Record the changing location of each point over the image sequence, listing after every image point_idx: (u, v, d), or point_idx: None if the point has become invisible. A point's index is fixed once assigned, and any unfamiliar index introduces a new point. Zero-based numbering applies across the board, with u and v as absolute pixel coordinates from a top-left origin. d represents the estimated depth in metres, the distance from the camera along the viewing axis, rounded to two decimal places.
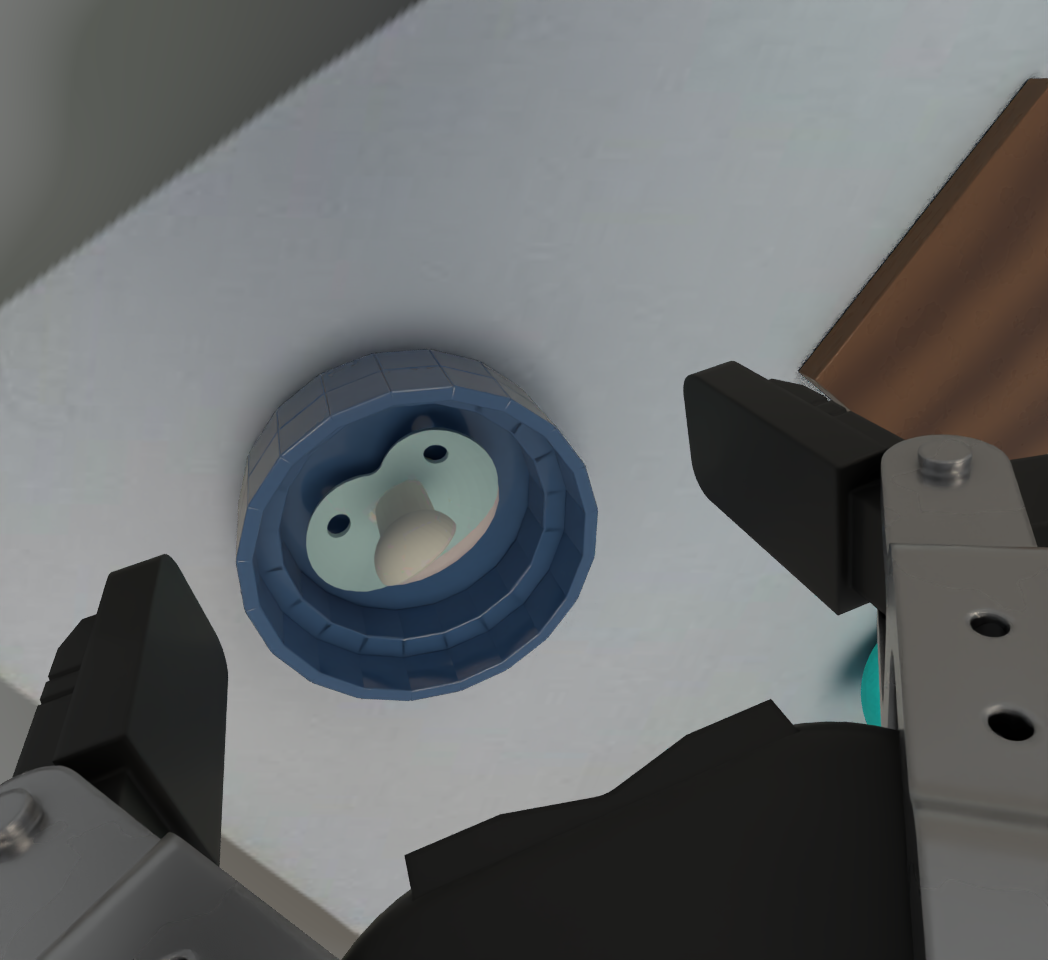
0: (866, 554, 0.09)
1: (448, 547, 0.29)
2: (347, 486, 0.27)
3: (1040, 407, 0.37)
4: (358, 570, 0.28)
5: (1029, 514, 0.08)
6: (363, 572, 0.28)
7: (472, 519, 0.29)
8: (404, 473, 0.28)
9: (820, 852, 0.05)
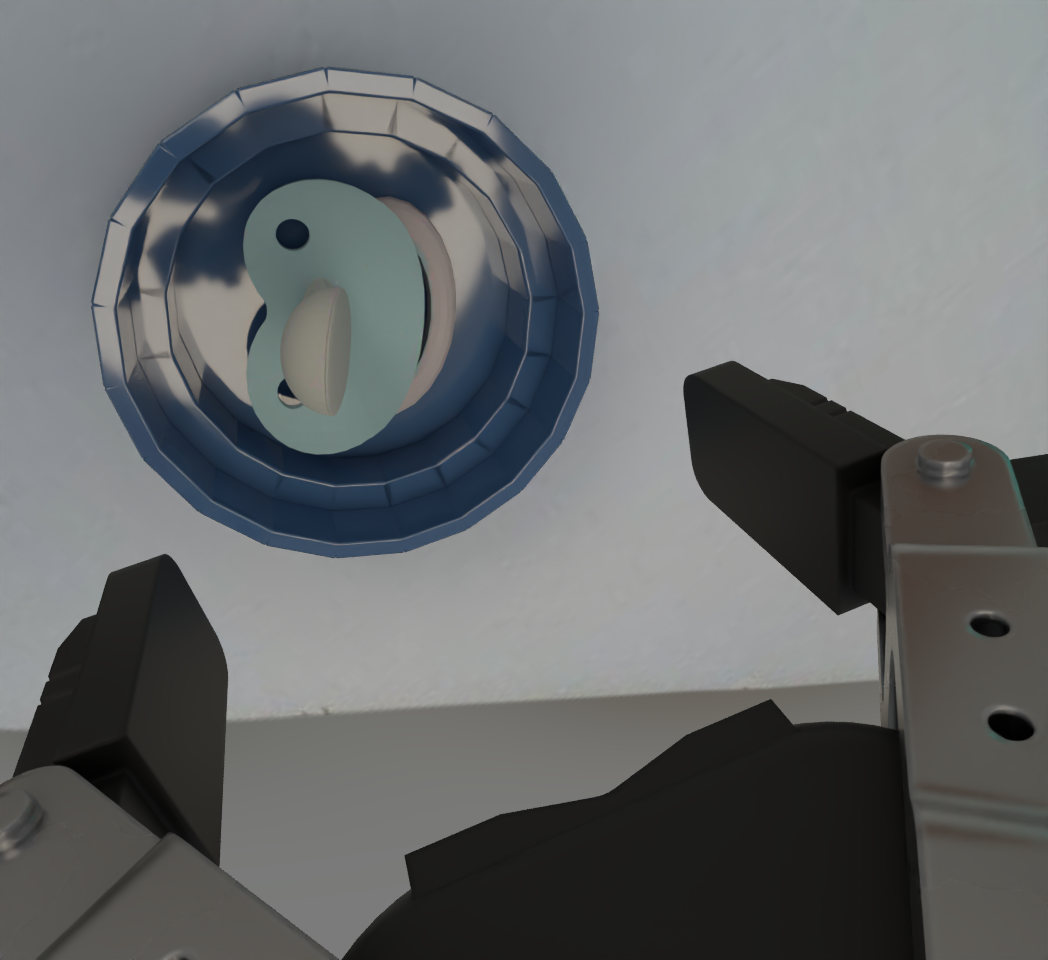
0: (866, 554, 0.09)
1: (420, 314, 0.22)
2: (257, 349, 0.21)
3: None
4: (357, 415, 0.22)
5: (1029, 514, 0.08)
6: (364, 413, 0.22)
7: (408, 263, 0.21)
8: (295, 284, 0.21)
9: (820, 852, 0.05)
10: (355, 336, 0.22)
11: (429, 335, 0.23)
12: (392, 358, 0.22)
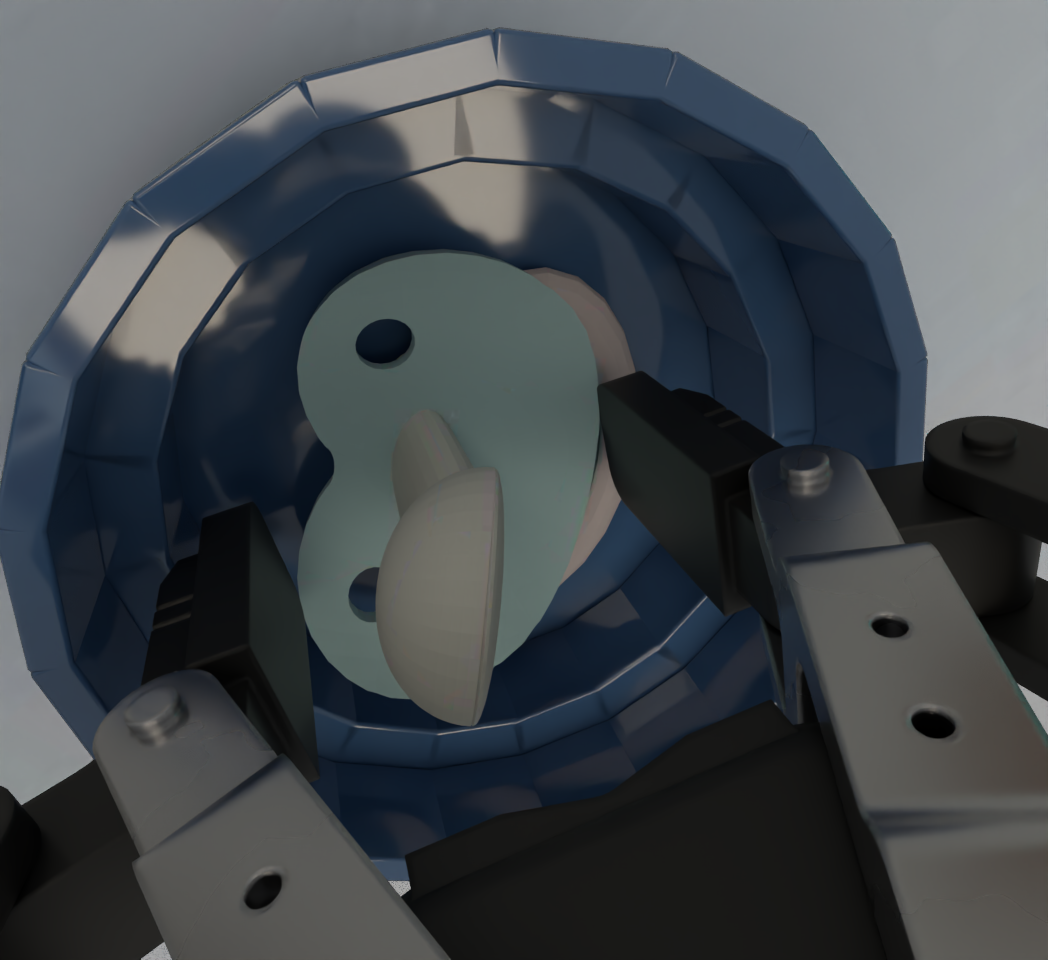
0: (743, 558, 0.09)
1: (588, 462, 0.13)
2: (317, 530, 0.12)
3: None
4: None
5: None
6: None
7: (579, 384, 0.12)
8: (384, 422, 0.12)
9: (820, 852, 0.05)
10: None
11: (592, 486, 0.14)
12: (536, 530, 0.13)
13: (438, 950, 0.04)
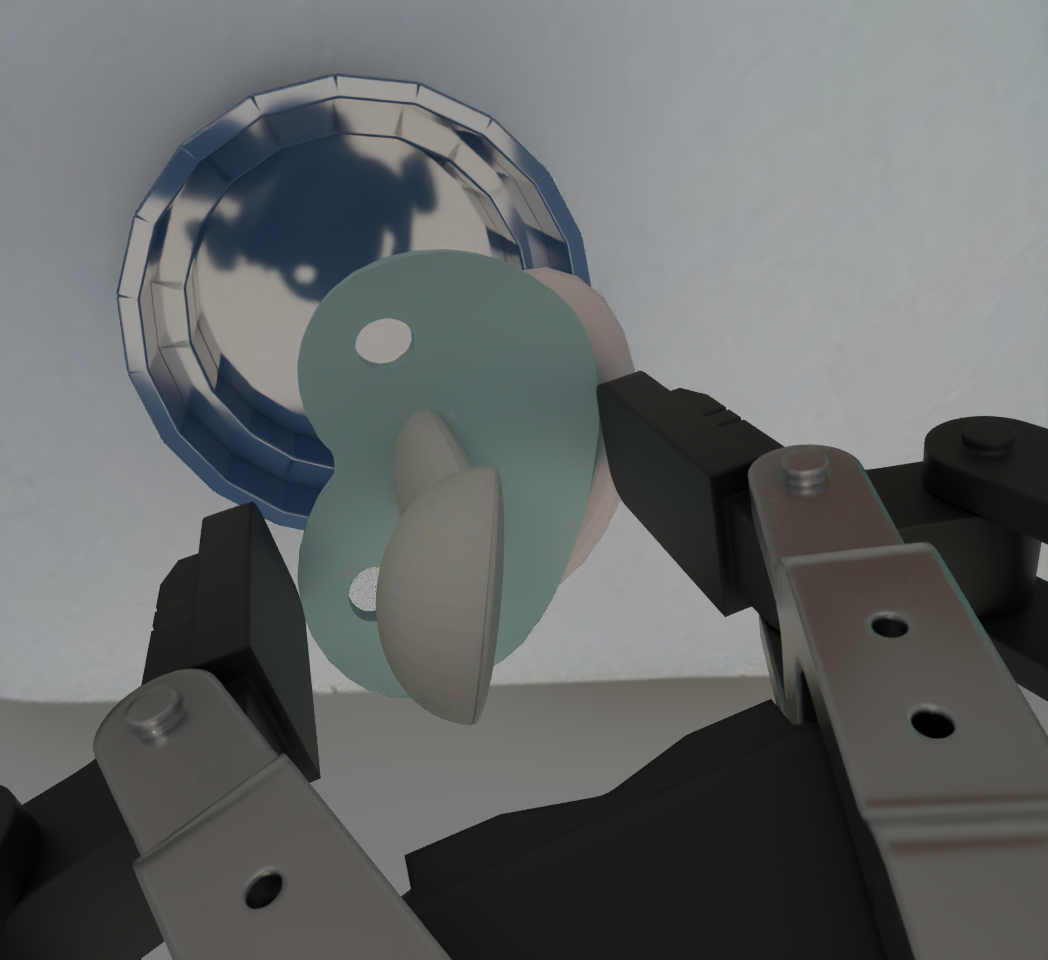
0: (743, 558, 0.09)
1: (588, 461, 0.13)
2: (316, 531, 0.12)
3: None
4: None
5: None
6: None
7: (578, 383, 0.12)
8: (384, 422, 0.12)
9: (820, 852, 0.05)
10: None
11: (592, 485, 0.14)
12: (536, 530, 0.13)
13: (439, 950, 0.04)
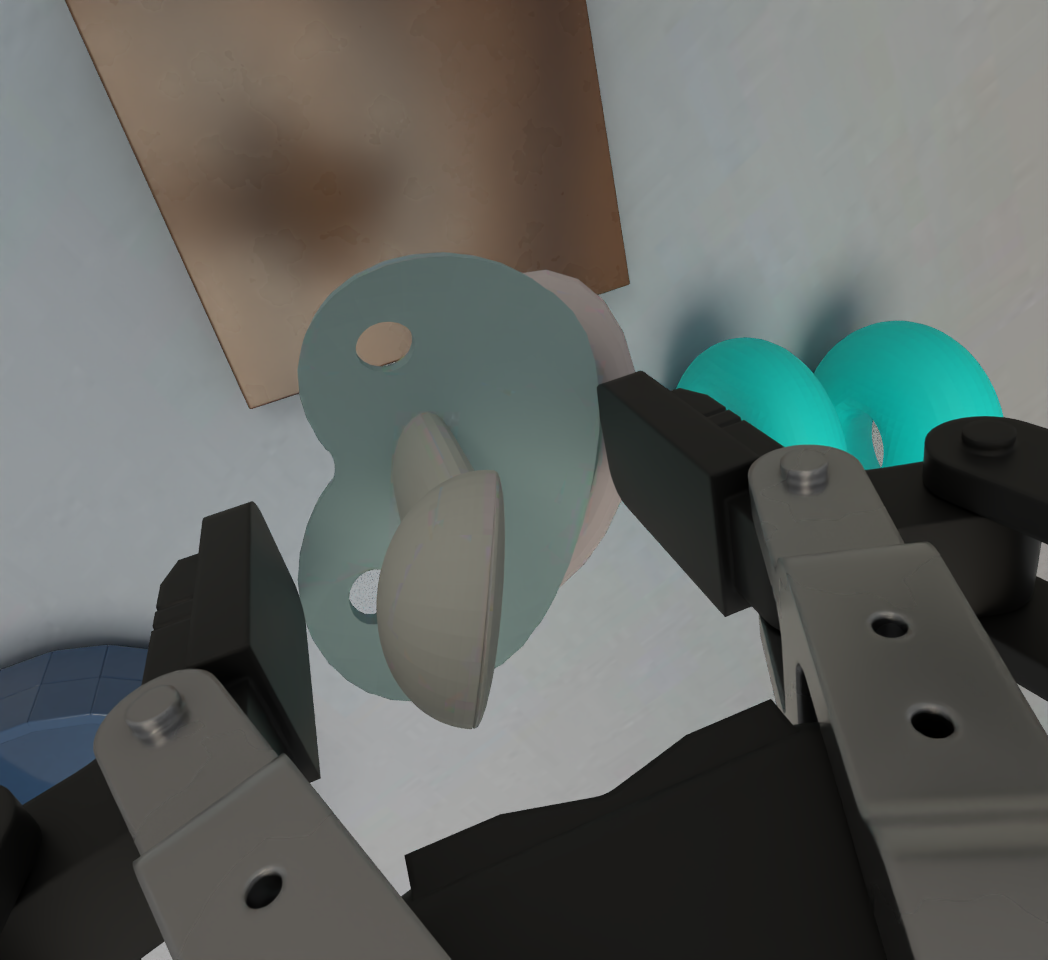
0: (743, 558, 0.09)
1: (588, 464, 0.13)
2: (317, 533, 0.12)
3: (530, 148, 0.26)
4: None
5: None
6: None
7: (579, 386, 0.12)
8: (384, 425, 0.12)
9: (820, 852, 0.05)
10: None
11: (592, 488, 0.14)
12: (536, 532, 0.13)
13: (439, 950, 0.04)
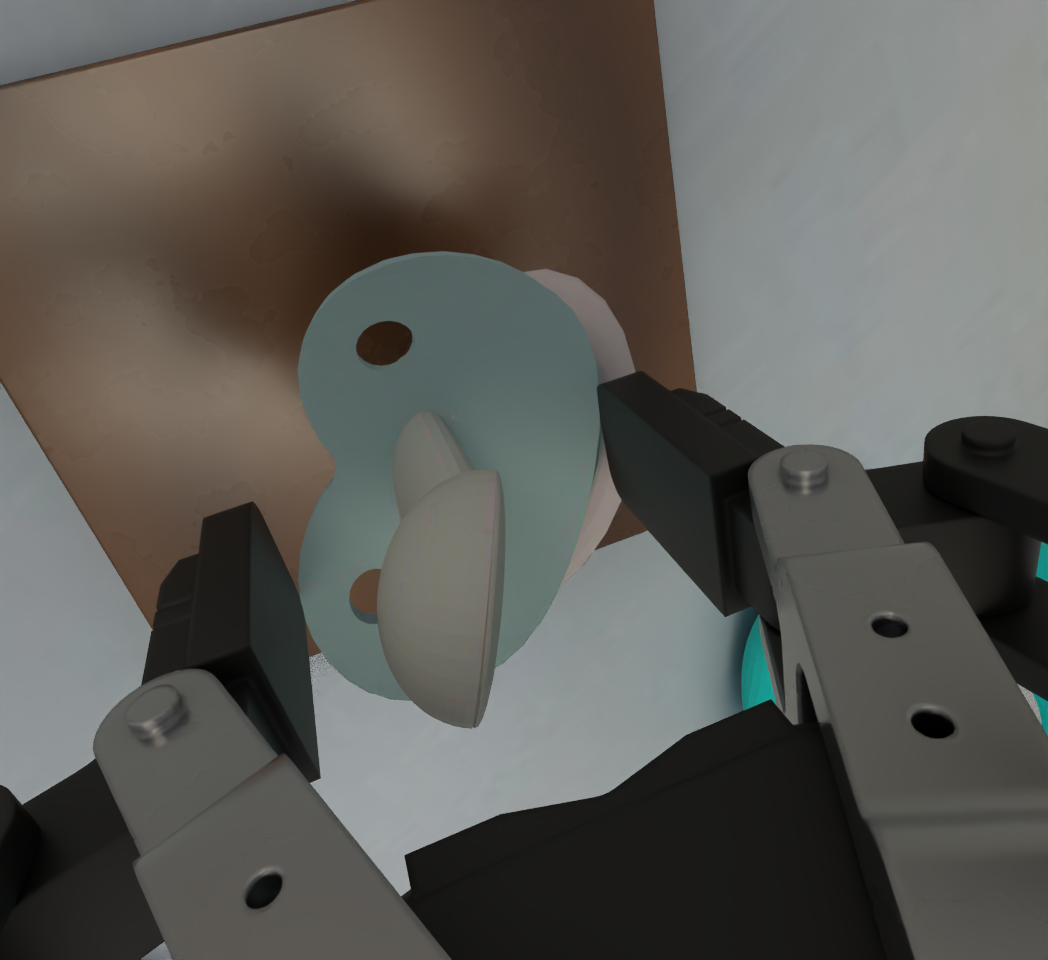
0: (743, 558, 0.09)
1: (589, 463, 0.13)
2: (318, 533, 0.12)
3: None
4: None
5: None
6: None
7: (579, 386, 0.12)
8: (385, 424, 0.12)
9: (820, 852, 0.05)
10: None
11: (593, 487, 0.14)
12: (537, 532, 0.13)
13: (439, 951, 0.04)
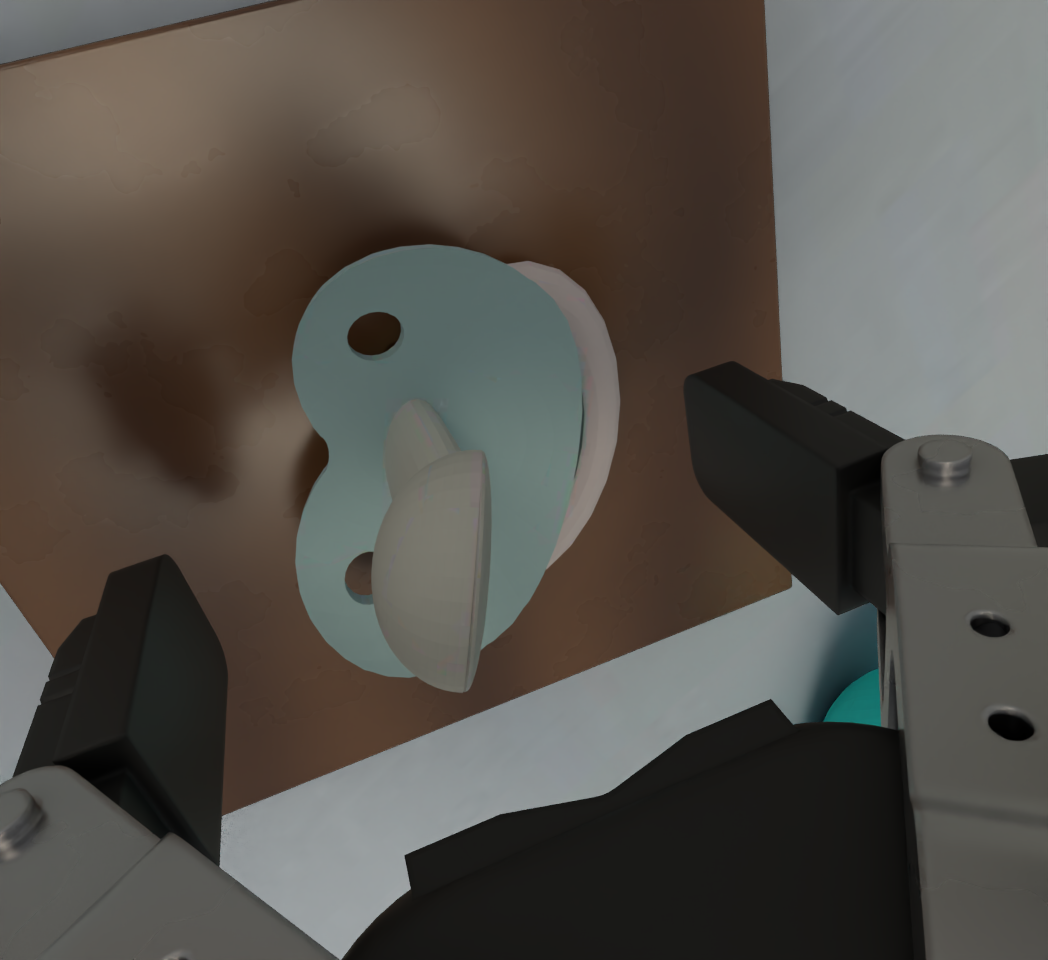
0: (866, 554, 0.09)
1: (573, 447, 0.13)
2: (313, 517, 0.13)
3: (658, 419, 0.15)
4: None
5: (1029, 514, 0.08)
6: None
7: (562, 372, 0.13)
8: (376, 411, 0.12)
9: (820, 851, 0.05)
10: None
11: (577, 471, 0.14)
12: (524, 514, 0.14)
13: None
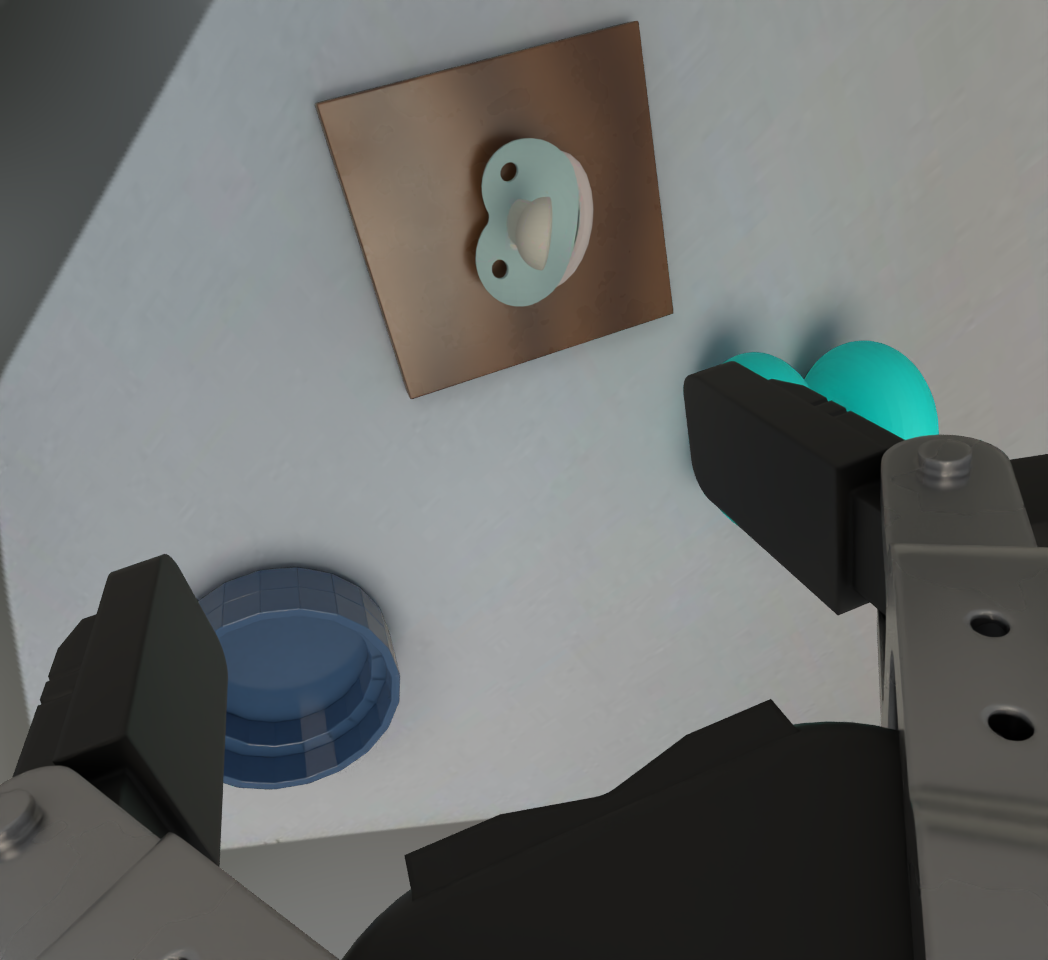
0: (866, 554, 0.09)
1: (575, 221, 0.36)
2: (482, 242, 0.36)
3: (609, 222, 0.38)
4: (536, 284, 0.37)
5: (1029, 514, 0.08)
6: (540, 283, 0.37)
7: (571, 189, 0.36)
8: (505, 203, 0.35)
9: (820, 852, 0.05)
10: None
11: (577, 237, 0.37)
12: (556, 249, 0.37)
13: None
